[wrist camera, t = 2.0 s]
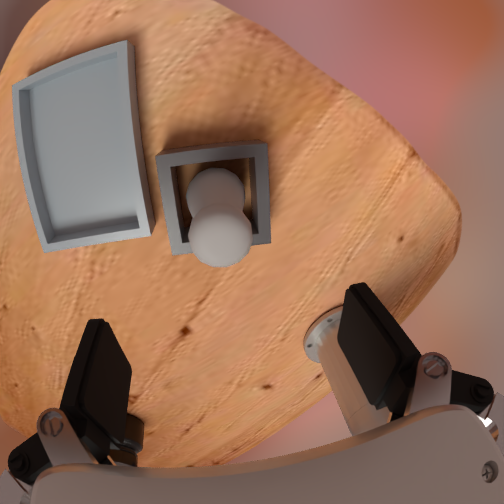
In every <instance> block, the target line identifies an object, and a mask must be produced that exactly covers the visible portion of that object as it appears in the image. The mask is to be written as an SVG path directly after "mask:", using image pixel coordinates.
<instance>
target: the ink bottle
mask: <svg viewBox="0 0 504 504" xmlns="http://www.w3.org/2000/svg"><path fill="white" fill-rule="evenodd" d="M143 436H144V425H143V423H142V422H141V421H140V420H139V419H137V418H136V417H134V416H131V415H128V414H127V416H126V426H125V438H124V443H122V444H121V447H120V450H116V449H110V453H109V456H110V457H111V459H112V460H113V461H114V463H115V464H116V465H117V466H128V467H137V459H138V458H137V453H138V452H140V451H141V450H142V449H143Z"/></svg>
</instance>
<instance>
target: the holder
mask: <svg viewBox="0 0 504 504" xmlns="http://www.w3.org/2000/svg"><path fill="white" fill-rule="evenodd" d="M155 157H156V165H157V172H158V178H159V185H160V191H161V197H162V203H163V209H164V214H165V220H166V225H167V231H168V236H169V241H170V246H171V250H172V255H180V254H188V253H193V252H192V249H191V245H190V241H189V238H188V233H189V229H190V227H184V221H183V215H182V208H181V202H180V195H179V188H178V181H177V174H176V166H180V165H187V164H194V163H202V162H210V161H219V160H229V159H240V158H249V172H250V188H251V205H252V219H250V220H249V221H250V223H251V228H252V236H253V241H252V244H251V246H252V245H260V244H268V243H271V226H270V196H269V170H268V147H267V143H265V142H263V141H261V140H248V141H235V142H224V143H215V144H206V145H197V146H190V147H182V148H176V149H169V150H163V151H161V152H160V153H158V154H157V155H156V156H155Z"/></svg>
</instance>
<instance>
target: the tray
mask: <svg viewBox="0 0 504 504" xmlns="http://www.w3.org/2000/svg"><path fill="white" fill-rule="evenodd" d="M12 97H13V114H14V126H15V135H16V142H17V149H18V156H19V162H20V167H21V172H22V177H23V182H24V186H25V191H26V195H27V199H28V203H29V206H30V210H31V214H32V217H33V221H34V224H35V227H36V230H37V234H38V237H39V240H40V243H41V245H42V248H43V251H44V253H47V252H52V251H58V250H64V249H70V248H76V247H82V246H88V245H94V244H100V243H107V242H113V241H120V240H126V239H133V238H140V237H147V236H151V235H152V232H153V230H154V227H155V225H156V224H155V219H154V214H153V209H152V204H151V198H150V192H149V187H148V181H147V174H146V168H145V161H144V154H143V147H142V139H141V130H140V121H139V112H138V101H137V88H136V72H135V48H134V46H133V45H132V44H131V43H130V42H129V41H128V40H124V41H120V42H117V43H113V44H110V45H106V46H103V47H100V48H97V49H94V50H91V51H88V52H85V53H82V54H79V55H77V56H74V57H71V58H69V59H66V60H64V61H61V62H59V63H57V64H54V65H52V66H50V67H47V68H45V69H43V70H41V71H39V72H37V73H35V74H33V75H31V76H29V77H27V78H25V79H23V80H21V81H19V82H17V83H16V84H14V85H12Z"/></svg>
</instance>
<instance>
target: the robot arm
mask: <svg viewBox="0 0 504 504" xmlns="http://www.w3.org/2000/svg"><path fill="white" fill-rule="evenodd" d="M303 346H304V350H305V353H306V355H307V356H308V358H309V359H311V360H312V361H314V362H317V363H321V365H322V367H323V370H324V372H325V374H326V377H327V379H328V381H329V383H330V386H331V388H332V390H333V393H334V395H335V397H336V399H337V402H338V404H339V407H340V409H341V411H342V414H343V416H344V418H345V421H346V423H347V425H348V428H349V430H350V432H351V434H352V437H350V438H346V439H343V440H340V441H337V442H334V443H331V444H327V445H323V446H320V447H316V448H313V449H309V450H305V451H301V452H297V453H292V454H288V455H284V456H279V457H274V458H268V459H263V460H257V461H250V462H244V463H236V464H228V465H217V466H205V467H185V468H150V467H128V466H117V465H116V464H115V463H114V461H113V460H112V459H111V457H110V456H109V453H110V449H116V450H120V447H121V444H122V443H124V438H125V426H126V416H127V407H128V398H129V390H130V383H131V376H132V369H131V365H130V363H129V362H128V360H127V358H126V356H125V354H124V352H123V351H122V349H121V347H120V345H119V343H118V341H117V339H116V337H115V335H114V333H113V331H112V329H111V327H110V325H109V323H108V322H105V321H104V319H90V320H89V321H88V322H87V325H86V328H85V330H84V333H83V336H82V338H81V341H80V344H79V347H78V350H77V353H76V355H75V357H74V360H73V363H72V366H71V369H70V373H69V376H68V379H67V382H66V386H65V389H64V393H63V397H62V400H61V404H60V408H59V409H57V408H49V409H47V410H45V411H44V412H42V413H41V415H40V416H39V418H38V420H37V433H36V434H34V435H33V436H31V437H30V438H29V439H27V440H26V441H25V442H23V443H22V444H21V445H19V446H18V447H16V448H15V449H14V450H13V451H12V452H11V453H10V455H9V458H8V467H9V470H7V469H5V470H4V472H3V473H2V475H1V476H0V504H504V396H503V395H501V394H499V393H498V392H497V393H496V394H494V391H493V388H492V386H491V384H490V383H489V382H488V381H487V380H485V379H483V378H480V377H476V376H472V375H469V374H465V373H461V372H458V371H454V370H452V368H451V365H450V362H449V361H448V359H447V358H446V357H445V356H443V355H442V354H439V353H437V352H429V353H426V354H424V355H421V354H420V352H419V351H418V349H417V348H416V347H415V345H414V344H413V343H412V341H411V340H410V339H409V337H408V336H407V335H406V333H405V332H404V331H403V329H402V328H401V327H400V325H399V324H398V323H397V322H396V320H395V319H394V318H393V316H392V315H391V314H390V313H389V312H388V310H387V309H386V308H385V306H384V305H383V304H382V303H381V301H380V300H379V299H378V298H377V296H376V295H375V294H374V293H373V292H372V290H371V289H370V288H369V287H368V285H367V284H366V283H364V282H362V283H357V284H352V285H350V287H349V289H347V290H346V293H345V298H344V304H343V306H341V307H338V308H335V309H333V310H331V311H329V312H327V313H326V314H324V315H323V316H321V317H320V318H319V319H318V320H317V321H316V322H315V323H314V324H313V325H312V326H311V327H310V328H309V330H308V332H307V333H306V336H305V338H304V343H303Z"/></svg>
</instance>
